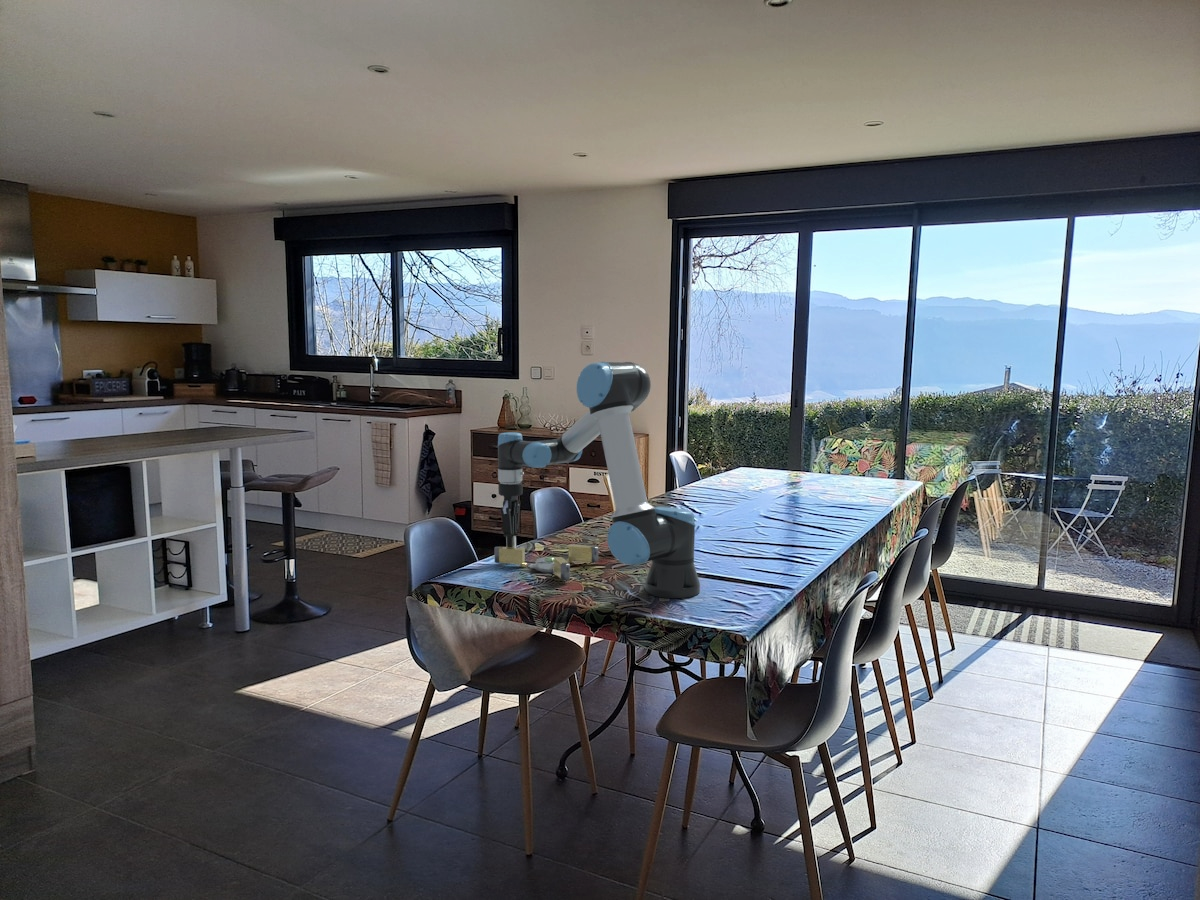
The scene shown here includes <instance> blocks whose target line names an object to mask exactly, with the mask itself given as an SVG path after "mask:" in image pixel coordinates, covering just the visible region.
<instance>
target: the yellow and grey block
mask: <svg viewBox="0 0 1200 900" xmlns="http://www.w3.org/2000/svg"><path fill="white" fill-rule="evenodd" d="M525 549H526V548H525V547H516V548H515V547H506V546H495V547H494V563H496V564H512V565H516V564H517V565H519V566H520V568H527V567H528V563H527V562H525V561H526V559H525V557H526V555H525V554H526V550H525Z"/></svg>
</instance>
